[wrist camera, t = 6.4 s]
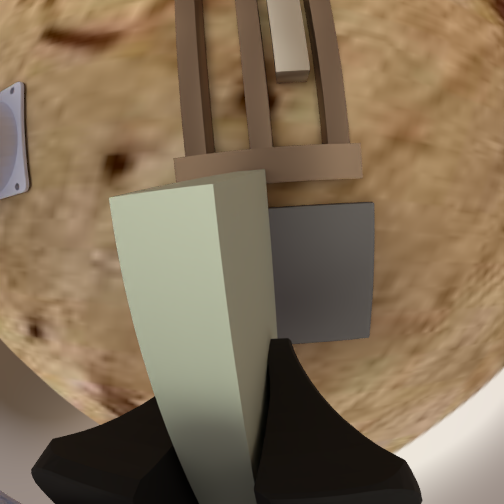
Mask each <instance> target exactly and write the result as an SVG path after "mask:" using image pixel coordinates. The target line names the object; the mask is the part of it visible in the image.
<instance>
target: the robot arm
mask: <svg viewBox="0 0 504 504" xmlns="http://www.w3.org/2000/svg"><path fill="white" fill-rule="evenodd" d="M13 92H14V93H13ZM28 189H29V178H28V169H27V159H26V146H25V128H24V84H23V83H22V82H16V83H15V84H13V85H11V86H10V87H8V88H6V89H4V90H3V91H1V92H0V199H3V198H6V197H10V196H13V195H16V194H20V193H23V192H26V191H28ZM268 362H269V376H270V401H269V409H268V417H267V424H266V431H265V437H264V443H263V449H262V454H261V459H260V464H259V469H258V473H257V478H256V482H255V486H254V493H255V498H256V503H257V504H421V502H422V497H421V491H420V488H419V485H418V483H417V481H416V479H415V477H414V475H413V473H412V471H411V469H410V467H409V466H408V464H407V462H406V461H405V460H404V459H402V458H400V457H398V456H396V455H394V454H393V453H391V452H389V451H387V450H385V449H383V448H382V447H380V446H378V445H377V444H375V443H374V442H372V441H371V440H370V439H368V438H367V437H365V436H364V435H363V434H361V433H360V432H359V431H358V430H356V429H355V428H354V427H353V426H352V425H350V424H349V423H348V422H347V421H346V420H344V419H343V418H342V417H341V416H340V415H339V414H338V413H337V412H336V411H335V410H334V409H333V408H332V407H331V406H330V404H329V403H328V402H327V401H326V400H325V399H324V398H323V396H322V395H321V394H320V393H319V391H318V390H317V389H316V387H315V386H314V385H313V383H312V382H311V380H310V379H309V377H308V376H307V374H306V372H305V371H304V369H303V367H302V366H301V364H300V362H299V360H298V358H297V356H296V354H295V352H294V349H293V346H292V341H291V340H290V339H289V338H278V339H271V340H270V345H269V351H268ZM31 471H32V472H31V473H32V476H33V479H34V480H35V482H36V484H37V485H38V486H39V487H40V488H41V490H42V491H43V492H44V493H45V494H46V495H47V496H48V497H49V498H50V499H51V500H52V501H53V502H54V503H55V504H199V502H198V500H197V498H196V496H195V494H194V492H193V490H192V488H191V485H190V483H189V481H188V479H187V477H186V474H185V472H184V470H183V468H182V465H181V463H180V461H179V458H178V456H177V453H176V451H175V448H174V446H173V443H172V441H171V438H170V436H169V433H168V431H167V428H166V425H165V423H164V420H163V417H162V414H161V412H160V409H159V406H158V403H157V400H156V397H155V396H154V397H153V398H151V399H150V400H148V401H147V402H145V403H144V404H142V405H140V406H139V407H137V408H135V409H133V410H131V411H129V412H127V413H125V414H124V415H122V416H120V417H118V418H116V419H113V420H111V421H109V422H106V423H104V424H102V425H99V426H97V427H94V428H91V429H88V430H85V431H82V432H78V433H75V434H71V435H67V436H63V437H59V438H55V439H52V441H51V442H50V443H49V445H48V446H47V448H46V449H45V450H44V452H43V453H42V455H41V456H40V458H39V459H38V461H37V462H36V464H35V465H34V467H33V468H32V469H31ZM0 504H21V503H20V502H18V501H16V500H15V499H13V498H11V497H10V496H8V495H6V494H5V493H3V492H2V491H0Z"/></svg>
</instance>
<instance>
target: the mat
mask: <svg viewBox="0 0 504 504" xmlns="http://www.w3.org/2000/svg"><path fill="white" fill-rule="evenodd" d="M268 212H269V224H270V237H271V250H272V264H273V278H274V292H275V307H276V322H277V338H289V339H290V340H291V341H292V344H299V343H314V342H327V341H339V340H350V339H360V338H369V335H370V324H371V311H372V296H373V276H374V203H373V202H357V203H336V204H318V205H301V206H285V207H271V208H268Z"/></svg>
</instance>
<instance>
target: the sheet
mask: <svg viewBox="0 0 504 504" xmlns="http://www.w3.org/2000/svg"><path fill="white" fill-rule="evenodd" d="M109 202H110V209H111V216H112V222H113V229H114V235H115V240H116V246H117V252H118V257H119V262H120V267H121V272H122V277H123V281H124V286H125V291H126V295H127V299H128V303H129V308H130V312H131V316H132V320H133V324H134V327H135V331H136V335H137V339H138V342H139V346H140V349H141V353H142V356H143V360H144V363H145V366H146V370H147V373H148V376H149V379H150V382H151V385H152V388H153V391H154V394H155V397H156V400H157V403H158V406H159V409H160V412H161V414H162V417H163V420H164V423H165V425H166V428H167V431H168V433H169V436H170V438H171V441H172V443H173V446H174V448H175V451H176V453H177V456H178V458H179V461H180V463H181V465H182V468H183V470H184V472H185V474H186V477H187V479H188V481H189V483H190V485H191V488H192V490H193V492H194V494H195V496H196V498H197V500H198V502H199V504H257V503H256V498H255V493H254V486H255V482H256V478H257V473H258V469H259V464H260V459H261V454H262V449H263V443H264V437H265V431H266V424H267V417H268V409H269V401H270V376H269V362H268V351H269V345H270V340H271V339H278V338H277V322H276V307H275V292H274V278H273V264H272V250H271V237H270V224H269V212H268V199H267V187H266V176H265V169H261V170H250V171H238V172H231V173H225V174H220V175H214V176H208V177H203V178H198V179H192V180H187V181H182V182H177V183H172V184H167V185H162V186H158V187H153V188H148V189H144V190H140V191H135V192H131V193H126V194H122V195H118V196H114V197H110V198H109Z"/></svg>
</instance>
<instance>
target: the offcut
mask: <svg viewBox="0 0 504 504" xmlns="http://www.w3.org/2000/svg"><path fill="white" fill-rule="evenodd" d="M266 1H267V9H268V16H269V23H270V31H271V39H272V47H273V55H274V63H275V72H276V81H277V83H290V82H306V80H307V77H308V74H309V71H310V66H309V59H308V51H307V45H306V38H305V31H304V25H303V19H302V13H301V7H300V1H299V0H266Z"/></svg>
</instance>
